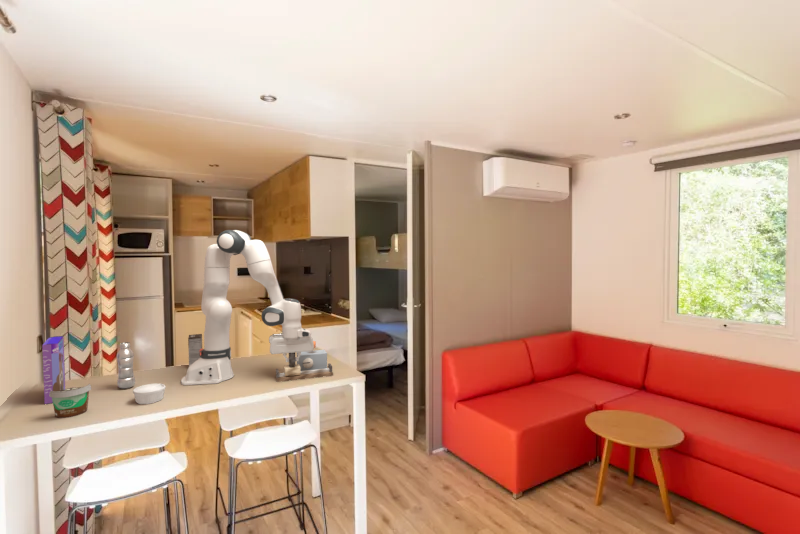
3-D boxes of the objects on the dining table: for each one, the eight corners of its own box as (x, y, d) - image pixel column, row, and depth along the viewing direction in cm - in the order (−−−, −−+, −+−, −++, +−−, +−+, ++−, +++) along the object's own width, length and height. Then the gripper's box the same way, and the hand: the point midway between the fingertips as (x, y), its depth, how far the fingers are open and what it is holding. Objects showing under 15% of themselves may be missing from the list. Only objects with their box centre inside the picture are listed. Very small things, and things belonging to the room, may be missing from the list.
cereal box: (60, 402, 164) (58, 343, 163) (44, 404, 161) (42, 344, 160) (65, 389, 178) (63, 335, 177) (51, 391, 175) (49, 336, 174)
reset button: (308, 348, 204) (308, 343, 203) (307, 347, 207) (307, 341, 207) (316, 348, 205) (316, 342, 205) (315, 346, 209) (315, 340, 209)
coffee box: (189, 364, 217) (188, 334, 217) (202, 363, 220) (202, 333, 219) (188, 368, 209) (188, 338, 208) (202, 367, 212) (201, 336, 211)
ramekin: (169, 400, 165) (168, 387, 165) (137, 408, 158) (136, 394, 157) (161, 393, 173) (161, 381, 173) (130, 400, 166) (130, 387, 165)
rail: (276, 382, 188) (276, 372, 188) (275, 377, 195) (275, 368, 194) (332, 375, 197) (332, 366, 197) (329, 371, 204) (329, 362, 204)
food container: (48, 422, 144) (47, 394, 144) (50, 416, 149) (48, 389, 149) (91, 414, 152) (90, 387, 151) (92, 408, 157) (91, 383, 156)
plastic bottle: (138, 385, 183) (137, 341, 182) (125, 391, 176) (123, 345, 176) (127, 384, 185) (126, 341, 184) (113, 389, 178) (112, 344, 177)
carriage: (285, 376, 190) (285, 354, 189) (284, 373, 195) (283, 351, 195) (300, 375, 192) (300, 352, 192) (299, 371, 198) (298, 349, 197)
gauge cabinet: (299, 374, 200) (298, 356, 199) (296, 369, 208) (296, 352, 207) (327, 371, 205) (327, 353, 204) (324, 366, 213) (324, 349, 212)
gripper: (269, 335, 186) (269, 365, 187) (314, 332, 194) (314, 361, 194) (268, 333, 192) (268, 361, 193) (312, 330, 200) (312, 358, 200)
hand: (292, 361), depth 194 cm, fingers closed on carriage, 3 cm apart
